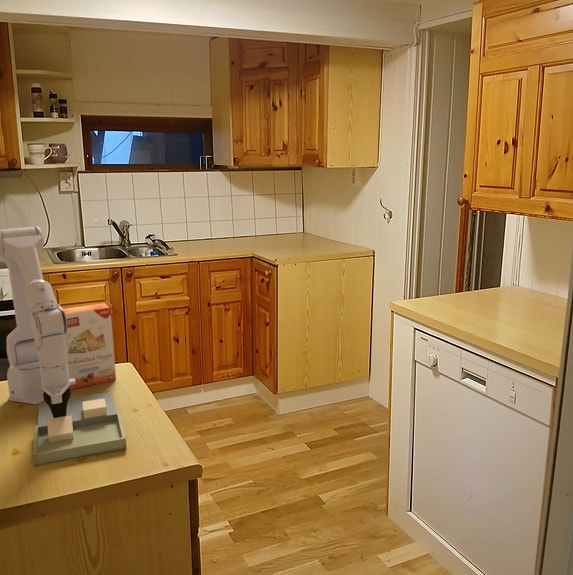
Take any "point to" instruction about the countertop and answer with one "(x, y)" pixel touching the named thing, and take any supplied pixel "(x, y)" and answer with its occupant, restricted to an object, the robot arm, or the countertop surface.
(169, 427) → the countertop surface
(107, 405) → the slate plate
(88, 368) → the cracker box
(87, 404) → the tile
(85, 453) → the tray
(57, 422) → the tile
